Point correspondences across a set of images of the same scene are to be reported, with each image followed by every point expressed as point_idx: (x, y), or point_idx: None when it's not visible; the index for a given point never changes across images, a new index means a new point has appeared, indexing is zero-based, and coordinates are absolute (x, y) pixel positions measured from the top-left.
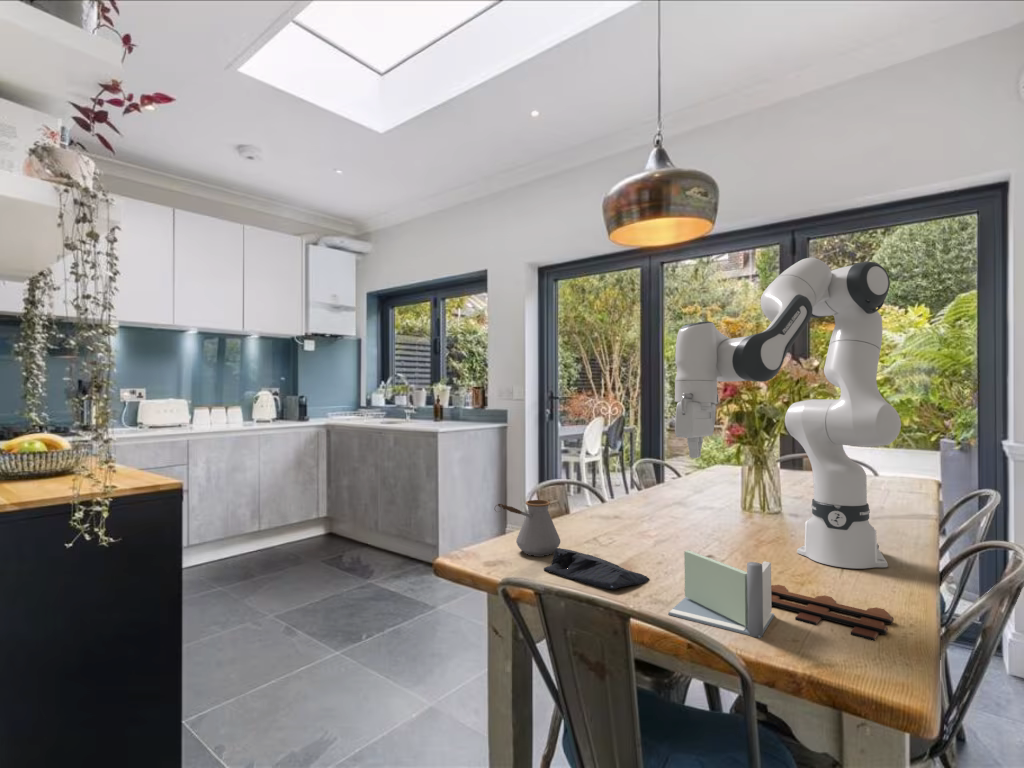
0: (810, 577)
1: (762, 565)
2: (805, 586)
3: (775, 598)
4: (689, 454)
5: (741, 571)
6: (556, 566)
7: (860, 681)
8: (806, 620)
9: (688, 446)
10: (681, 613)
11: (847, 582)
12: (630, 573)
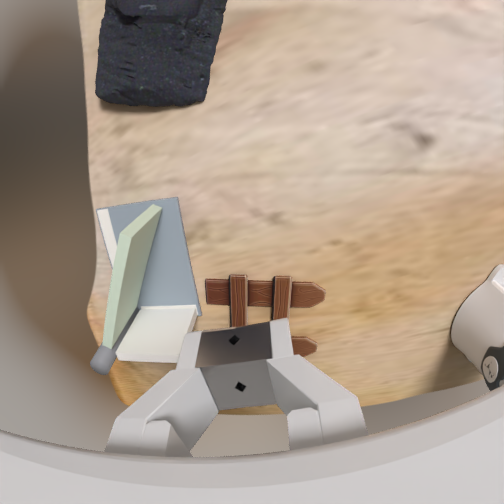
0: (396, 310)
1: (156, 356)
2: (350, 316)
3: (257, 304)
4: (182, 343)
5: (107, 339)
6: None
7: (127, 382)
8: None
9: (151, 387)
10: (104, 225)
11: (396, 346)
12: (146, 91)
